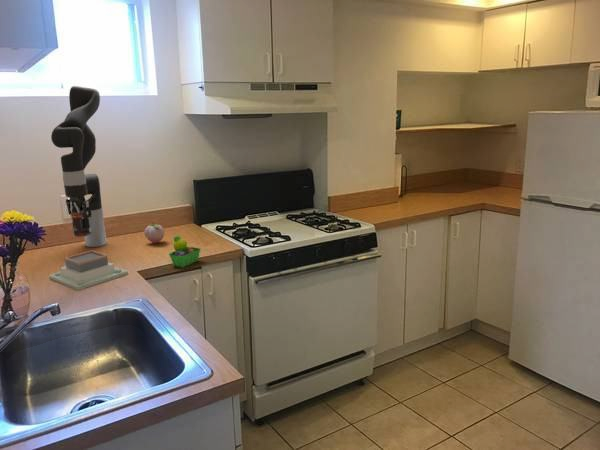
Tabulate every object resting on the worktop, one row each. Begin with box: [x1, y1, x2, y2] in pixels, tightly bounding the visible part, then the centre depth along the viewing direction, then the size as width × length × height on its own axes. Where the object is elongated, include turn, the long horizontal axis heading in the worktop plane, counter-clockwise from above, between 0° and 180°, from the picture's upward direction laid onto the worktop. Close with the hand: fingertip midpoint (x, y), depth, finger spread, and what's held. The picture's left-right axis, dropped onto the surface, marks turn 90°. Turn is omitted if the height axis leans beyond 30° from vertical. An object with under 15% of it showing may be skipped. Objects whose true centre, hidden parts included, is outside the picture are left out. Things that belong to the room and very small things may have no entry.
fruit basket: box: [168, 235, 201, 268], centre depth 198 cm, size 11×9×11 cm
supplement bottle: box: [70, 206, 91, 238], centre depth 183 cm, size 6×6×11 cm
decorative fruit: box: [144, 222, 166, 244], centre depth 228 cm, size 9×8×10 cm
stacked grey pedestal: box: [48, 249, 129, 291], centre depth 187 cm, size 22×20×8 cm
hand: (81, 227), depth 183 cm, fingers closed on supplement bottle, 6 cm apart
